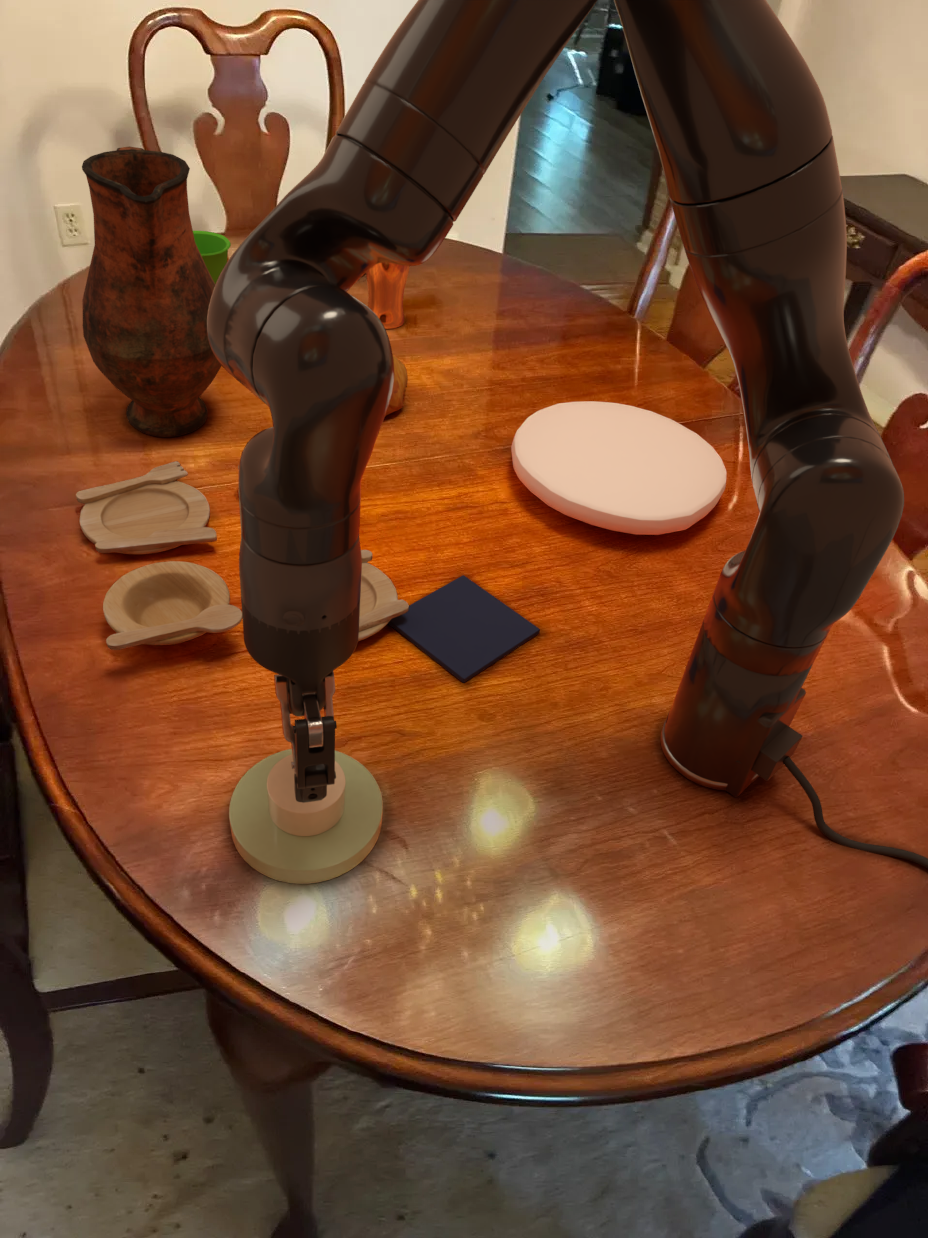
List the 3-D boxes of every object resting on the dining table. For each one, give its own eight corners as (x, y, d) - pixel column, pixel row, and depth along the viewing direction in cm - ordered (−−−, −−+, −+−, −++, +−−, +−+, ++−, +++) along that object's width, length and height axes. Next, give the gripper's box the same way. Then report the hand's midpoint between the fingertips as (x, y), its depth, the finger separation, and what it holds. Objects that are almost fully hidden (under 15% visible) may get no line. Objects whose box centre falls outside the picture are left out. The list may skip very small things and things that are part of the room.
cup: (162, 320, 137) (152, 245, 129) (192, 298, 143) (185, 225, 136) (217, 333, 135) (211, 258, 128) (246, 310, 142) (241, 238, 135)
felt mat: (539, 633, 94) (540, 629, 93) (463, 683, 87) (464, 679, 87) (462, 579, 99) (463, 574, 98) (385, 622, 93) (386, 618, 92)
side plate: (412, 824, 75) (413, 811, 74) (293, 914, 68) (292, 900, 67) (319, 738, 81) (318, 724, 79) (200, 812, 74) (198, 798, 72)
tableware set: (76, 488, 104) (68, 457, 101) (329, 456, 113) (329, 427, 111) (105, 709, 80) (97, 676, 77) (423, 645, 90) (426, 614, 87)
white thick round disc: (531, 377, 125) (728, 416, 122) (523, 422, 128) (714, 460, 126) (499, 465, 102) (740, 514, 100) (490, 516, 106) (722, 564, 104)
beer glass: (356, 312, 145) (358, 214, 135) (397, 309, 148) (402, 212, 138) (371, 332, 141) (375, 231, 131) (413, 327, 143) (420, 229, 133)
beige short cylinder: (360, 808, 73) (361, 784, 71) (300, 850, 70) (299, 827, 68) (313, 762, 76) (312, 739, 74) (252, 801, 73) (250, 778, 71)
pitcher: (103, 457, 109) (53, 190, 89) (93, 372, 124) (49, 126, 104) (245, 444, 114) (228, 189, 94) (220, 364, 129) (200, 128, 109)
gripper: (380, 659, 54) (369, 822, 65) (342, 516, 64) (337, 678, 75) (251, 672, 53) (261, 838, 63) (231, 523, 63) (243, 688, 73)
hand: (302, 751), depth 69 cm, fingers open, 8 cm apart
